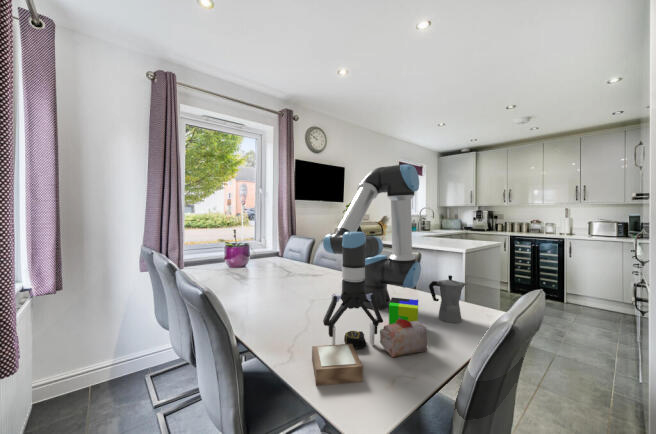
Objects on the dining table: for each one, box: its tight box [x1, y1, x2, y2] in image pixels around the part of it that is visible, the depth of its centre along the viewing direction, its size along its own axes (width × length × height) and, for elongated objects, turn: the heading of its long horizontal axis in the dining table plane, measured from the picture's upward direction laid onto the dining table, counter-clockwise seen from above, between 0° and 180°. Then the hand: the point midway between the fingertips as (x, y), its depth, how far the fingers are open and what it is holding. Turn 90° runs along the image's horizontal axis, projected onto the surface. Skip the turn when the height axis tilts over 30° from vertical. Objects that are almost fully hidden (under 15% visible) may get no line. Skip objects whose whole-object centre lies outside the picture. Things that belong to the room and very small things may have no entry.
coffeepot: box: [428, 274, 467, 324], centre depth 111 cm, size 15×9×18 cm, turn 92°
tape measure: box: [343, 330, 367, 349], centre depth 88 cm, size 7×7×4 cm
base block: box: [311, 343, 364, 386], centre depth 74 cm, size 12×12×4 cm
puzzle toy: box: [388, 297, 419, 325], centre depth 101 cm, size 10×10×10 cm
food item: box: [379, 317, 429, 358], centre depth 85 cm, size 14×8×10 cm, turn 108°
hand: (352, 345), depth 88 cm, fingers open, 12 cm apart
